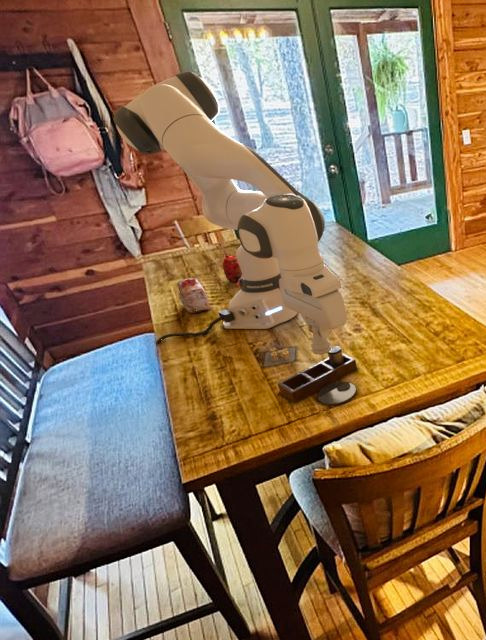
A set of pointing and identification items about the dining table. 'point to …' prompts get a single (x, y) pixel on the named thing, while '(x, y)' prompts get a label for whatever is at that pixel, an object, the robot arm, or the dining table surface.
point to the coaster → (337, 393)
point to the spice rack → (317, 383)
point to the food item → (193, 295)
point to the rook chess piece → (318, 340)
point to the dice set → (279, 356)
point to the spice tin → (336, 356)
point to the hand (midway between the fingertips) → (319, 334)
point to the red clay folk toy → (231, 266)
